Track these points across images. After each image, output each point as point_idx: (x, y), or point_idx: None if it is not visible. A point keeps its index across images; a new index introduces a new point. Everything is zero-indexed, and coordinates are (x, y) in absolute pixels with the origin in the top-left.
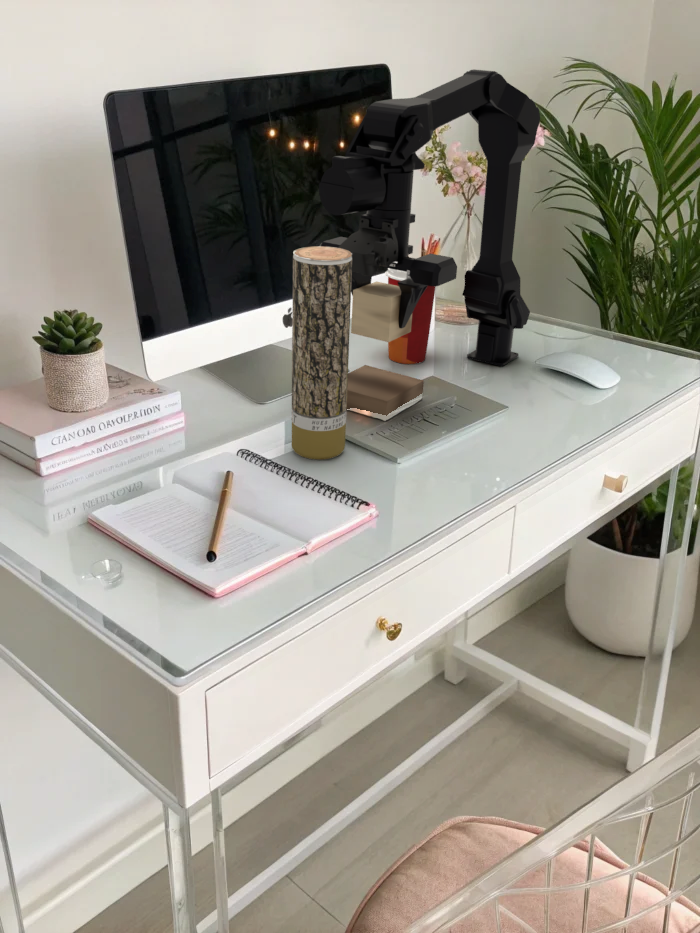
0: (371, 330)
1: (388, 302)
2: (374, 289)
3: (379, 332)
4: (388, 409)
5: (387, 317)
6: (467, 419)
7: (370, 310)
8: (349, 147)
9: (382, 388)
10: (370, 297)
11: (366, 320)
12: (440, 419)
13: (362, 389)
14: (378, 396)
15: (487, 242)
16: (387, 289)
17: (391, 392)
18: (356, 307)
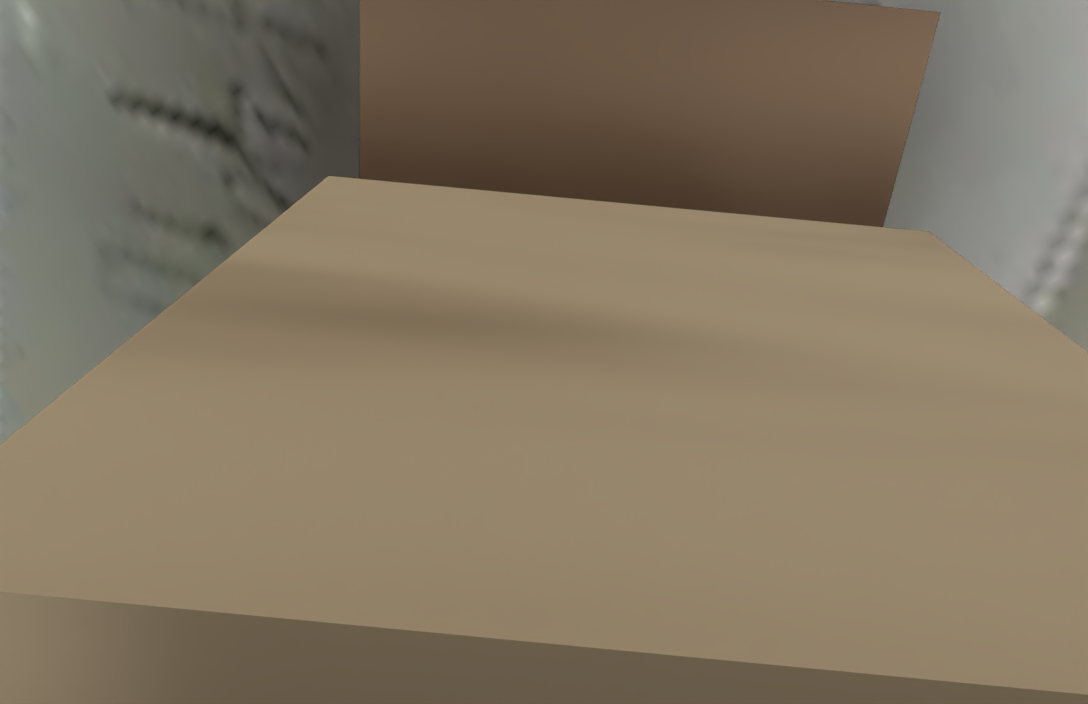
0: (608, 234)
1: (69, 491)
2: None
3: (465, 220)
4: None
5: (250, 308)
6: (45, 277)
7: (673, 366)
8: None
9: (515, 178)
10: (747, 566)
11: (730, 293)
12: (156, 194)
13: (634, 74)
14: (463, 9)
15: None
16: None
17: (423, 143)
18: (1054, 402)
